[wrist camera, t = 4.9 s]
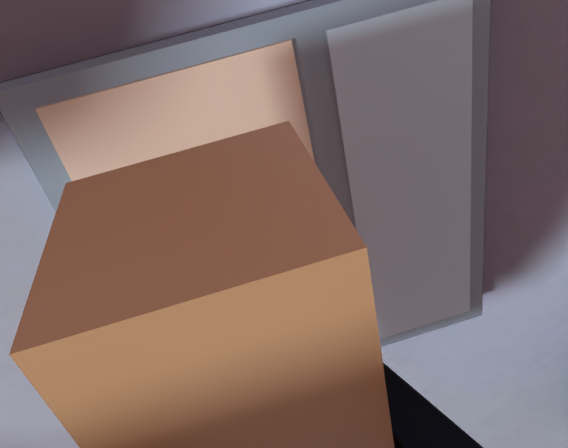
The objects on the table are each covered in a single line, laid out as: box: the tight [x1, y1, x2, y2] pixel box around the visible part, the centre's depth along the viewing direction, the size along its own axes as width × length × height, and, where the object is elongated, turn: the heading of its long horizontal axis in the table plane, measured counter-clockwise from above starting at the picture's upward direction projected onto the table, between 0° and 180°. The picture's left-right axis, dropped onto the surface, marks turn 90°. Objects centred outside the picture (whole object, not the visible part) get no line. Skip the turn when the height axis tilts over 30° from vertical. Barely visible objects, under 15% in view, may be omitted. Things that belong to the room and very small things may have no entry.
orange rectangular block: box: [9, 121, 394, 448], centre depth 9 cm, size 4×10×4 cm, turn 11°
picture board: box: [0, 0, 491, 347], centre depth 14 cm, size 11×11×1 cm
